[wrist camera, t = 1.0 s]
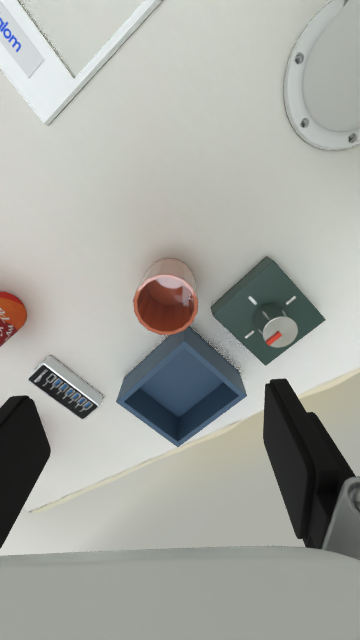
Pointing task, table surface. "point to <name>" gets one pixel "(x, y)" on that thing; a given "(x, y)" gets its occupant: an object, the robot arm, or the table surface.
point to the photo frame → (50, 59)
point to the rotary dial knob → (275, 325)
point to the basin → (181, 387)
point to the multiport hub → (65, 387)
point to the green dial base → (255, 292)
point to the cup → (166, 297)
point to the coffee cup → (10, 316)
